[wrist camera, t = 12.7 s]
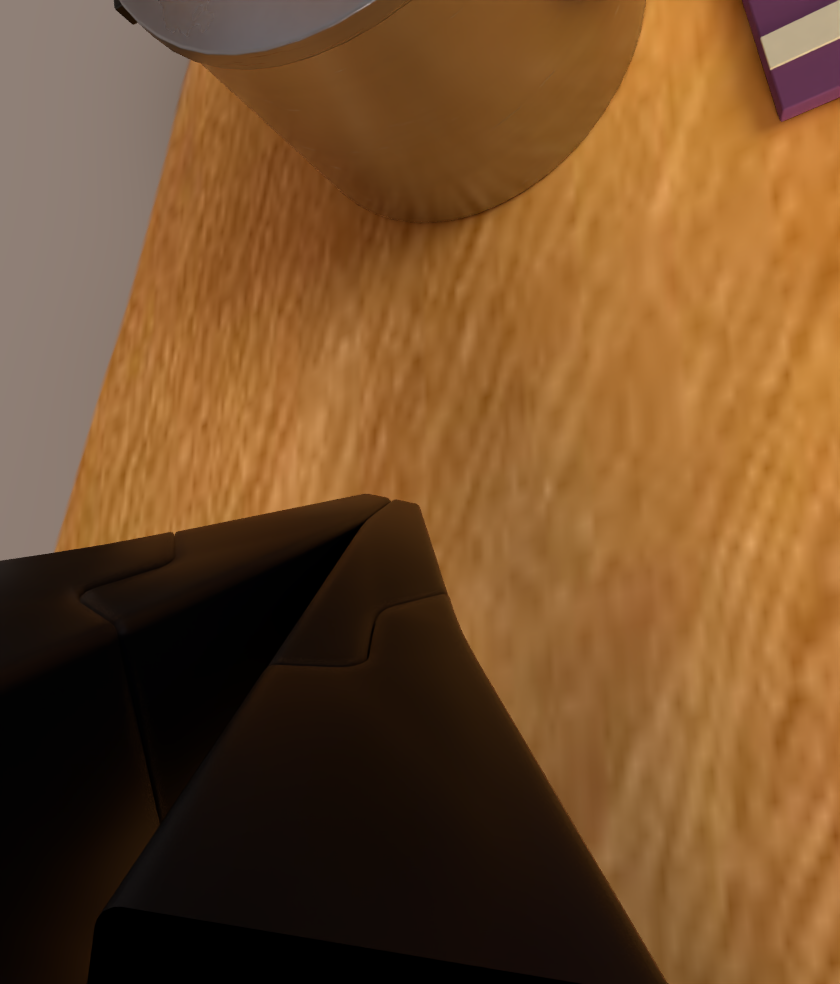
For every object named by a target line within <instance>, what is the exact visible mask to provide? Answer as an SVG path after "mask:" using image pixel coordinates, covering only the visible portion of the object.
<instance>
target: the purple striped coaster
mask: <svg viewBox="0 0 840 984" xmlns="http://www.w3.org/2000/svg"><path fill="white" fill-rule="evenodd" d="M742 2H743V5H744V8H745V12H746V15H747V18H748V21H749V24H750V27H751V31H752V34H753V37H754V40H755V43H756V46H757V50H758V53H759V56H760V59H761V62H762V65H763V69H764V72H765V75H766V78H767V81H768V84H769V88H770V91H771V94H772V97H773V100H774V103H775V107H776V110H777V113H778V116H779V119H780V121H781V122H782V121H785V120H787V119H789V118H792V117H794V116H797V115H799V114H801V113H804V112H806V111H808V110H811V109H813V108H815V107H818V106H820V105H822V104H825V103H827V102H830V101H832V100H834V99H837V98H839V97H840V0H742Z"/></svg>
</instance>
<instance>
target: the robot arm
mask: <svg viewBox="0 0 840 984" xmlns="http://www.w3.org/2000/svg"><path fill="white" fill-rule="evenodd" d="M0 984H668V983H667V981H666V980H665V978H664V976H663V975H662V973H661V971H660V970H659V968H658V966H657V964H656V963H655V961H654V959H653V958H652V956H651V954H650V953H649V951H648V949H647V948H646V946H645V944H644V942H643V941H642V939H641V937H640V936H639V934H638V932H637V931H636V929H635V927H634V925H633V924H632V922H631V920H630V919H629V917H628V915H627V914H626V912H625V910H624V908H623V907H622V905H621V903H620V902H619V900H618V898H617V897H616V895H615V893H614V891H613V890H612V888H611V886H610V885H609V883H608V881H607V880H606V878H605V876H604V875H603V873H602V871H601V869H600V868H599V866H598V864H597V863H596V861H595V859H594V858H593V856H592V854H591V852H590V851H589V849H588V847H587V846H586V844H585V842H584V841H583V839H582V837H581V835H580V834H579V832H578V830H577V829H576V827H575V825H574V824H573V822H572V820H571V819H570V817H569V815H568V813H567V812H566V810H565V808H564V807H563V805H562V803H561V802H560V800H559V798H558V796H557V795H556V793H555V791H554V790H553V788H552V786H551V785H550V783H549V781H548V779H547V778H546V776H545V774H544V773H543V771H542V769H541V768H540V766H539V764H538V763H537V761H536V759H535V757H534V756H533V754H532V752H531V751H530V749H529V747H528V746H527V744H526V742H525V740H524V739H523V737H522V735H521V734H520V732H519V730H518V729H517V727H516V725H515V723H514V722H513V720H512V718H511V717H510V715H509V713H508V712H507V710H506V708H505V706H504V705H503V703H502V701H501V700H500V698H499V696H498V695H497V693H496V691H495V690H494V688H493V686H492V684H491V683H490V681H489V679H488V678H487V676H486V674H485V673H484V671H483V669H482V667H481V666H480V664H479V662H478V661H477V659H476V657H475V655H474V653H473V652H472V650H471V648H470V646H469V644H468V642H467V640H466V638H465V637H464V635H463V633H462V630H461V628H460V625H459V623H458V620H457V618H456V615H455V613H454V610H453V607H452V604H451V601H450V598H449V596H448V594H447V590H446V587H445V584H444V581H443V578H442V575H441V572H440V569H439V566H438V562H437V559H436V556H435V553H434V550H433V547H432V544H431V541H430V537H429V534H428V531H427V528H426V525H425V522H424V519H423V516H422V513H421V509H420V507H419V505H417V504H415V503H410V502H406V501H401V500H393V501H390V500H389V499H388V498H386V497H381V496H376V495H371V494H361V495H356V496H351V497H346V498H341V499H336V500H331V501H327V502H322V503H317V504H312V505H307V506H302V507H297V508H292V509H287V510H282V511H277V512H272V513H267V514H262V515H257V516H252V517H247V518H242V519H237V520H232V521H228V522H223V523H218V524H213V525H208V526H203V527H198V528H193V529H188V530H183V531H178V532H176V533H175V536H174V534H173V533H172V532H168V533H163V534H158V535H153V536H148V537H143V538H137V539H132V540H126V541H121V542H116V543H110V544H105V545H99V546H93V547H87V548H80V549H74V550H68V551H62V552H56V553H49V554H43V555H37V556H29V557H23V558H16V559H9V560H3V561H0Z"/></svg>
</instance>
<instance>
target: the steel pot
mask: <svg viewBox="0 0 840 984" xmlns="http://www.w3.org/2000/svg"><path fill="white" fill-rule="evenodd" d="M645 6H646V0H114V7H115V9H116V10H117V11H118V12H119V13H120V14H121V15H122V16H124V17H125V18H126V19H127V20H128V21H129V22H130V23H132V24H136V23H139V24H140V25H141V26H142V27H143V28H144V29H145V30H146V31H148V32H149V33H150V34H151V35H152V36H153V37H154V38H156V39H157V40H159V41H160V42H161V43H163V44H164V45H165V46H167V47H168V48H169V49H171V50H172V51H174V52H176V53H178V54H180V55H182V56H184V57H187V58H188V59H191V60H193V61H195V62H198V63H201V64H202V65H203V66H204V67H205V68H206V69H207V70H209V71H210V72H211V73H212V74H213V75H214V76H215V77H216V78H217V79H218V80H219V81H221V82H222V83H223V84H224V85H225V86H226V87H227V88H228V89H229V90H230V91H231V92H233V93H234V94H235V95H236V96H237V97H238V98H239V99H240V100H241V101H242V102H244V103H245V104H246V105H247V106H248V107H249V108H250V109H251V110H252V111H253V112H254V113H256V114H257V115H258V116H259V117H260V118H261V119H262V120H263V121H264V122H265V123H266V124H268V125H269V126H270V127H271V128H272V129H273V130H274V131H275V132H276V133H277V134H279V135H280V136H281V137H282V138H283V139H284V140H285V141H286V142H287V143H288V144H289V145H291V146H292V147H293V148H294V149H295V150H296V151H297V152H298V153H299V154H300V155H301V156H303V157H304V158H305V159H306V160H307V161H308V162H309V163H310V164H311V165H312V166H314V167H315V168H316V169H317V170H318V171H319V172H320V173H321V174H322V175H323V176H324V177H326V178H327V179H328V180H329V181H330V182H331V183H332V184H333V185H334V186H335V187H336V188H338V189H339V190H340V191H341V192H342V193H343V194H344V195H346V196H347V197H348V198H350V199H351V200H352V201H353V202H355V203H356V204H357V205H359V206H361V207H363V208H365V209H367V210H369V211H371V212H373V213H374V214H377V215H381V216H384V217H387V218H390V219H393V220H400V221H406V222H416V223H435V222H442V221H449V220H456V219H460V218H463V217H467V216H471V215H474V214H478V213H480V212H483V211H485V210H488V209H490V208H493V207H495V206H497V205H500V204H502V203H504V202H506V201H507V200H509V199H511V198H513V197H515V196H516V195H518V194H520V193H522V192H524V191H525V190H526V189H528V188H529V187H531V186H532V185H534V184H535V183H536V182H538V181H539V180H541V179H542V178H543V177H545V176H546V175H547V174H548V173H550V172H551V171H552V170H553V169H554V168H555V167H556V166H557V165H559V164H560V163H561V162H562V161H563V160H564V159H565V158H567V157H568V156H569V154H570V153H571V152H572V151H573V150H574V149H575V148H576V147H577V146H578V145H579V144H580V142H581V141H582V140H583V139H584V138H585V137H586V136H587V135H588V133H589V132H590V131H591V129H592V128H593V127H594V125H595V124H596V122H597V121H598V120H599V118H600V117H601V116H602V114H603V113H604V112H605V110H606V108H607V107H608V105H609V103H610V101H611V100H612V98H613V96H614V95H615V93H616V91H617V90H618V88H619V86H620V84H621V82H622V80H623V77H624V75H625V73H626V71H627V69H628V66H629V64H630V62H631V60H632V57H633V54H634V51H635V48H636V44H637V41H638V38H639V35H640V32H641V27H642V22H643V17H644V11H645Z"/></svg>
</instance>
